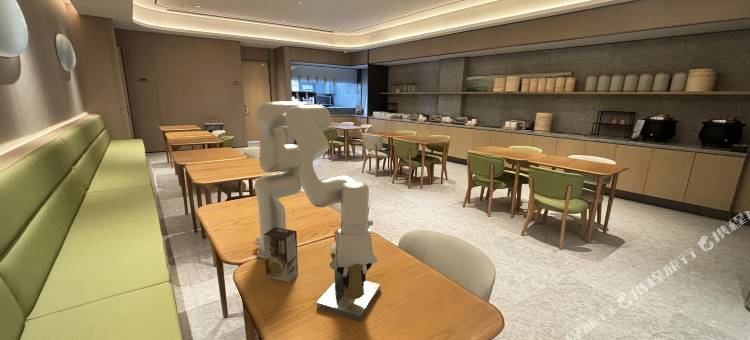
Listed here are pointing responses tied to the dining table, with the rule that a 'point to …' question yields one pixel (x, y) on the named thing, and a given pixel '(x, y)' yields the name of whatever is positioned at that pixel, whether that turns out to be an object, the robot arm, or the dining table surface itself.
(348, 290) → the cork
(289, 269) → the coffee box
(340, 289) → the press stand
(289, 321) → the dining table surface
